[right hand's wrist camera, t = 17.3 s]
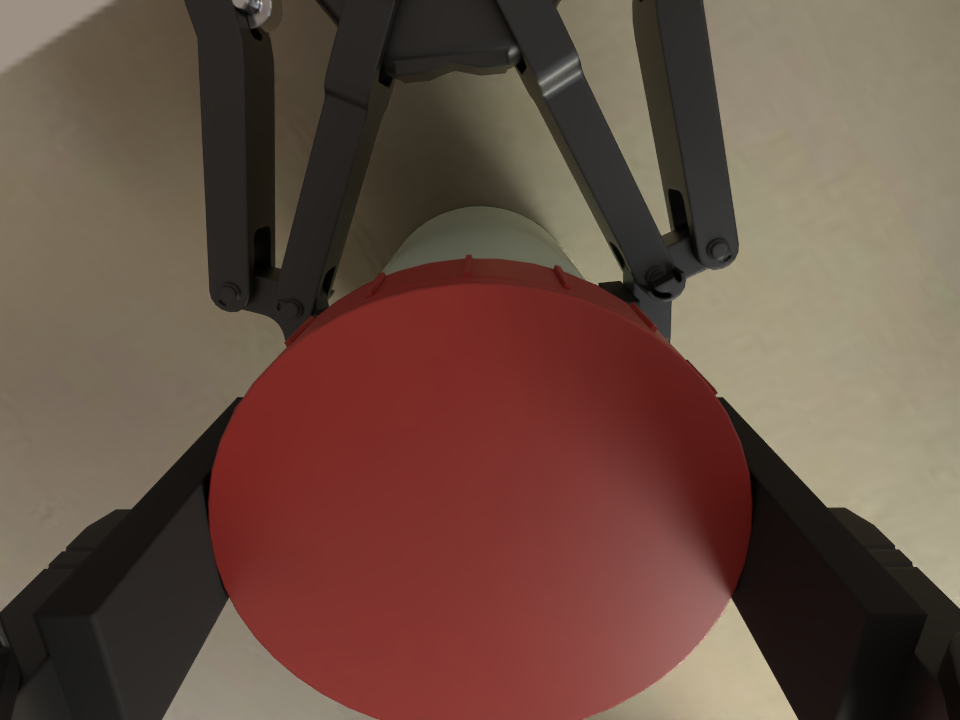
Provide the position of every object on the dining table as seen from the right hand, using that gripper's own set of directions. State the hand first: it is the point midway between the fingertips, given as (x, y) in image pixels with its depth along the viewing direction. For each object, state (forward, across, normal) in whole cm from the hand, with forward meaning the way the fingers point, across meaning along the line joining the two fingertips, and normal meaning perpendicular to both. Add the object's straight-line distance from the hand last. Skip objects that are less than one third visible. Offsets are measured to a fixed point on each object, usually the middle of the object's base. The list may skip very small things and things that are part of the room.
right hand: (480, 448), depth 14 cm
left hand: (+6, 0, -5) cm, 8 cm away
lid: (-3, 0, 0) cm, 3 cm away
